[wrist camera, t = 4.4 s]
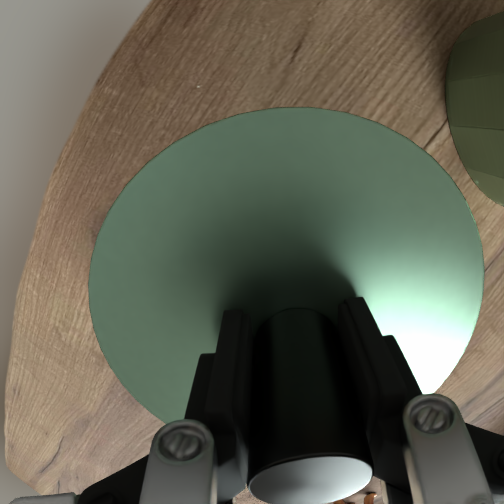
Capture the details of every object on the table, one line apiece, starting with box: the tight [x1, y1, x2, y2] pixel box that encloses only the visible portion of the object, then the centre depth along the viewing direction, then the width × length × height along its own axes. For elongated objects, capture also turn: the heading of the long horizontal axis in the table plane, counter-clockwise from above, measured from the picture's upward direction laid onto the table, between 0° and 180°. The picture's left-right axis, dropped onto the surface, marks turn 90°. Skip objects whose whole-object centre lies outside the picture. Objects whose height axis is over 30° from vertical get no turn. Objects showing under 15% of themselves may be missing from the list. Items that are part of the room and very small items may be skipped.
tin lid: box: [88, 107, 484, 504], centre depth 8 cm, size 14×14×6 cm
